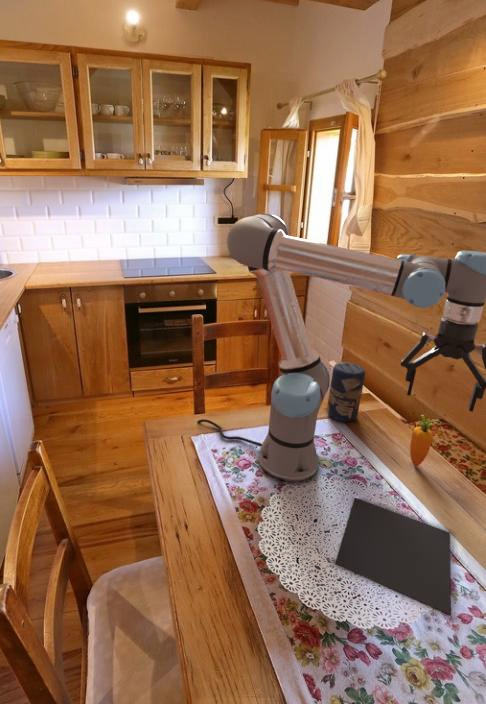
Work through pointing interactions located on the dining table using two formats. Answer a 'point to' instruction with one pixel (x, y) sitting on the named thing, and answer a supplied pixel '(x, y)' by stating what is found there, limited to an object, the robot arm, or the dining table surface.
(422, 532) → the mat
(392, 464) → the dining table surface
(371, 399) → the dining table surface
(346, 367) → the canister
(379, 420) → the dining table surface
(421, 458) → the carrot
